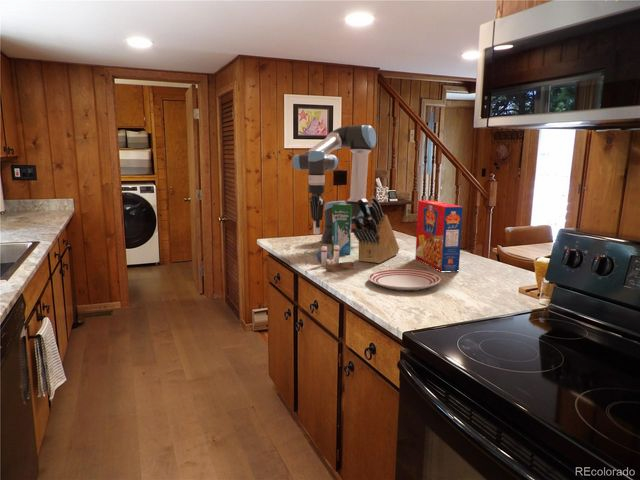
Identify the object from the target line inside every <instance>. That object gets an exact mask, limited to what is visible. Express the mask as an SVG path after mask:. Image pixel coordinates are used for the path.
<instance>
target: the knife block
mask: <svg viewBox="0 0 640 480" xmlns="http://www.w3.org/2000/svg"><path fill="white" fill-rule="evenodd" d="M369 199H370V200H369V201H368V206H367V207H368V208H369V211H370V214H369V213H367V209H366V206H365V204H364V202H363V200H361V199H360V200H358V204H359V207H360V209H361V211H362V212H363V214H364V215H363V216H359V217H358V218H357V217H356V216H353V217H352V219H353V221H354V223H355V225H354V226H355V227H356V228H351V233H353V235H354V237H355V239H357V241H358V261H359V262H361V263H362V262H367V263H376V264H381V263H382V262H385V261H386V260H388V259H390V258H392V257H394V256H396V255H398V254H399V251H400V247H399V244H398V242H397V237H396V236H395V233H394V231H393V227H392V226H391V223H390V220H389V218H388V215H387V214H384V213H383V209H382V206H381V203H380V201H379V200H378V198H377V197H376V196H370V198H369ZM359 218H362V219H363V220H362V223H360V221H359Z"/></svg>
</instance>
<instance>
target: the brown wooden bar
mask: <svg viewBox="0 0 640 480" xmlns="http://www.w3.org/2000/svg"><path fill="white" fill-rule="evenodd" d="M354 263H355V262H353V261H345V262H343V261H342V262H339V263H331V264H326V266H325V269H326V272H328V273H331V272H340V271H350V270H354Z"/></svg>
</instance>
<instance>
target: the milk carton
mask: <svg viewBox="0 0 640 480" xmlns="http://www.w3.org/2000/svg"><path fill="white" fill-rule="evenodd" d="M346 204H347V203H346ZM346 204H342V203H340V204H339V205H338V204H333V208H332V244H331V255H334V246H339V255H348V256H349V255H351V248H352V247H351V246H352V245H351V244H352V243H351V242H352V241H351V240H352V225H351V205H346Z"/></svg>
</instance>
